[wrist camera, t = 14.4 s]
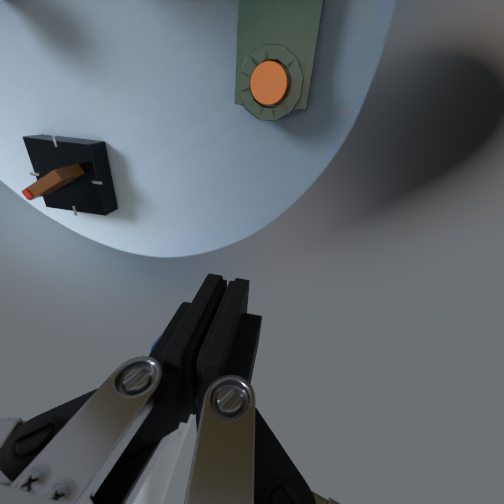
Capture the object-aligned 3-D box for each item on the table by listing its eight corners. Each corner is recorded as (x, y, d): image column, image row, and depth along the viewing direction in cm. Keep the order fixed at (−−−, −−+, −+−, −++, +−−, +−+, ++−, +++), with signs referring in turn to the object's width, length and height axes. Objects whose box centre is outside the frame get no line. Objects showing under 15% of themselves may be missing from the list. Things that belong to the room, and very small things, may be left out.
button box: (304, 121, 31) (304, 124, 27) (238, 115, 32) (230, 116, 28) (345, -141, 21) (353, -189, 18) (249, -139, 22) (239, -184, 19)
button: (285, 106, 27) (284, 106, 26) (251, 103, 28) (248, 103, 26) (290, 64, 25) (289, 61, 24) (254, 62, 26) (251, 59, 24)
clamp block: (122, 212, 42) (109, 220, 39) (59, 203, 43) (43, 210, 40) (107, 137, 36) (91, 139, 33) (36, 129, 37) (15, 131, 35)
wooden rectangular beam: (78, 163, 35) (52, 169, 32) (85, 172, 36) (60, 180, 32) (47, 183, 38) (19, 191, 34) (53, 192, 38) (27, 201, 35)
